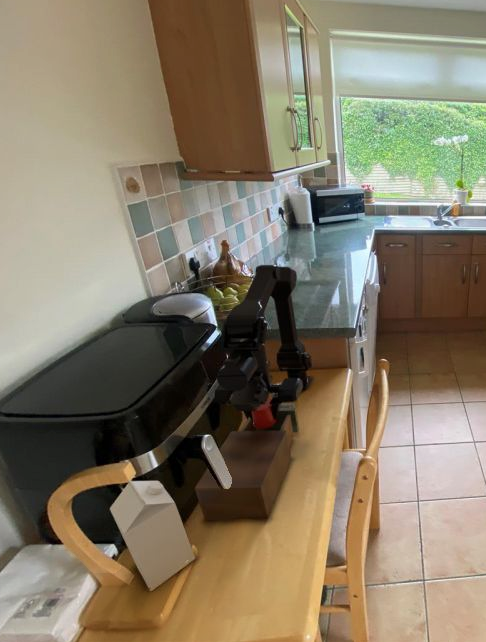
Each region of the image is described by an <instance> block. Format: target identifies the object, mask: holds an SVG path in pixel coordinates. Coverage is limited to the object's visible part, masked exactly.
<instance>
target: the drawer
mask: <svg viewBox="0 0 486 642" xmlns="http://www.w3.org/2000/svg"><path fill="white" fill-rule="evenodd" d="M252 423H253V420H252V419H251V418H250V417H249V416H248V418H247V419H246V421H245V422H244V424H243V426H242V428H241V429H240V431H286V432H287V438H288V443H289V447H290V446H291V444H292V441H293V439H294V436H295V434H298V433H299V432H300V429H301V428H300V424H299V416H298V410H297V407H295V403H294V402H285V403H282V404H281V405H280V409H279V413H278V416H277V419H276V422H275V423H274V424H273V425H272V426H270V427H268V428H265V429H258V428H256V427H254V426H253V425H252Z"/></svg>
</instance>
